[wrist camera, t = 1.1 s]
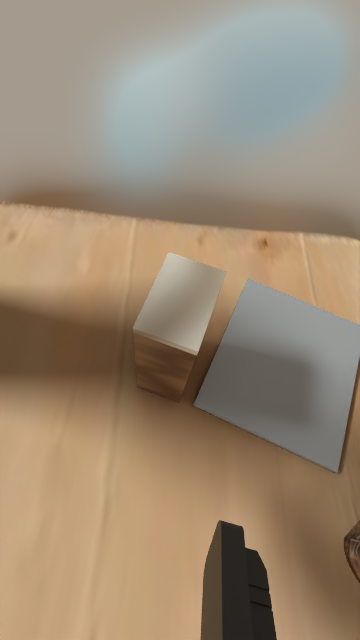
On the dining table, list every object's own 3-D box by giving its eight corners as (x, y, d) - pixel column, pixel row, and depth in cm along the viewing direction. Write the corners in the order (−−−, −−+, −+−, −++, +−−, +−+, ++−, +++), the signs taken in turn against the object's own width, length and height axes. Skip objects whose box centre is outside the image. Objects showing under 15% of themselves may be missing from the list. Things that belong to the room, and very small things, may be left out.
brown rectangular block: (137, 386, 29) (132, 327, 19) (161, 330, 32) (168, 251, 21) (178, 402, 29) (198, 351, 18) (199, 344, 32) (226, 271, 21)
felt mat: (193, 405, 29) (193, 403, 28) (246, 281, 36) (248, 278, 35) (333, 472, 27) (337, 472, 27) (361, 329, 34) (365, 327, 34)
